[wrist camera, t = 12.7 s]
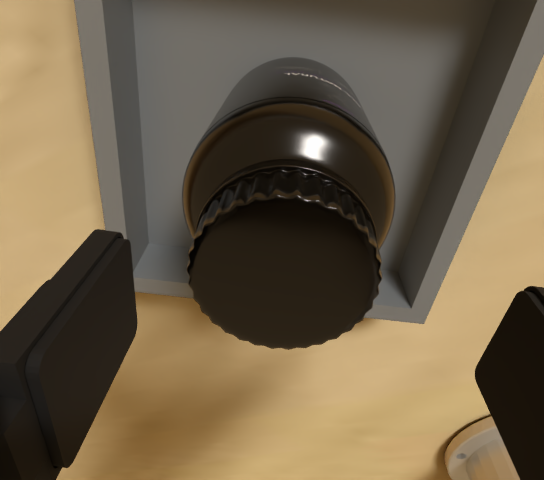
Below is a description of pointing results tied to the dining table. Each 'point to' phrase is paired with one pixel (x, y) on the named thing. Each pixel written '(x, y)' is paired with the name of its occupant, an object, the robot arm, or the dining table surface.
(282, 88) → the supplement bottle
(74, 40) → the dining table surface
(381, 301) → the tray
